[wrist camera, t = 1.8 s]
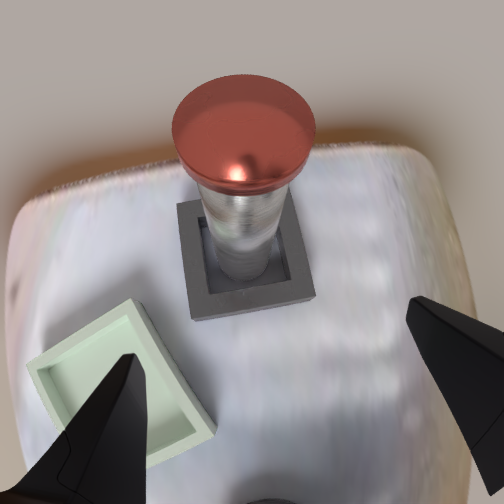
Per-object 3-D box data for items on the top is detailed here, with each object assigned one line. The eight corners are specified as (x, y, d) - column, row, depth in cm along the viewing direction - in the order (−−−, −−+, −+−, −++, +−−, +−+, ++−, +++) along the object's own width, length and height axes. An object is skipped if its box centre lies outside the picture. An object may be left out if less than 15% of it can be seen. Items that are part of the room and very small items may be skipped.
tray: (217, 427, 20) (214, 436, 18) (106, 478, 18) (94, 489, 16) (141, 303, 22) (130, 297, 20) (43, 364, 20) (25, 364, 18)
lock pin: (284, 244, 24) (334, 103, 10) (256, 297, 23) (278, 206, 9) (230, 217, 25) (218, 61, 10) (200, 268, 23) (143, 146, 9)
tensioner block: (310, 300, 23) (316, 295, 21) (195, 321, 22) (191, 318, 20) (285, 197, 25) (288, 185, 23) (181, 214, 25) (176, 203, 23)
